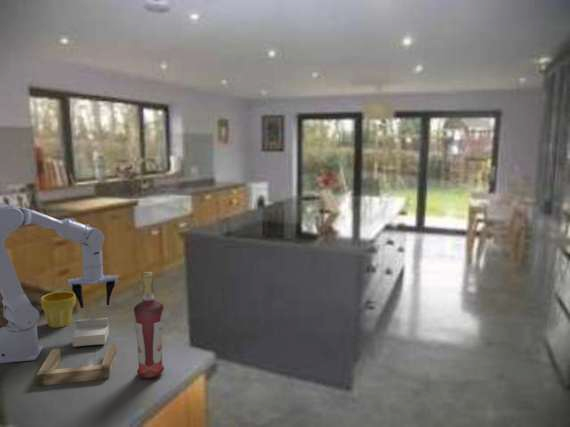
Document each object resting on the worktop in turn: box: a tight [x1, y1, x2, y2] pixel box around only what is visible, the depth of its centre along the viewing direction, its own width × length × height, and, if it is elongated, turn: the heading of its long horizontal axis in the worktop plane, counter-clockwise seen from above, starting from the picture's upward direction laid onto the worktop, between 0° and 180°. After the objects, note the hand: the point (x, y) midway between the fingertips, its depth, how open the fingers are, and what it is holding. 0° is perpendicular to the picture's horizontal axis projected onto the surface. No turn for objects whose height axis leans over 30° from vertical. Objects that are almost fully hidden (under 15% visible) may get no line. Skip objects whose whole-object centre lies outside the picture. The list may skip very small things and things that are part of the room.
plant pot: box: [40, 291, 77, 329], centre depth 145 cm, size 10×10×10 cm
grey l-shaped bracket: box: [71, 317, 110, 348], centre depth 132 cm, size 9×7×6 cm
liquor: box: [133, 271, 165, 380], centre depth 113 cm, size 7×7×28 cm
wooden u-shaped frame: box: [36, 343, 118, 387], centre depth 117 cm, size 17×14×3 cm
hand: (95, 305), depth 139 cm, fingers open, 7 cm apart
